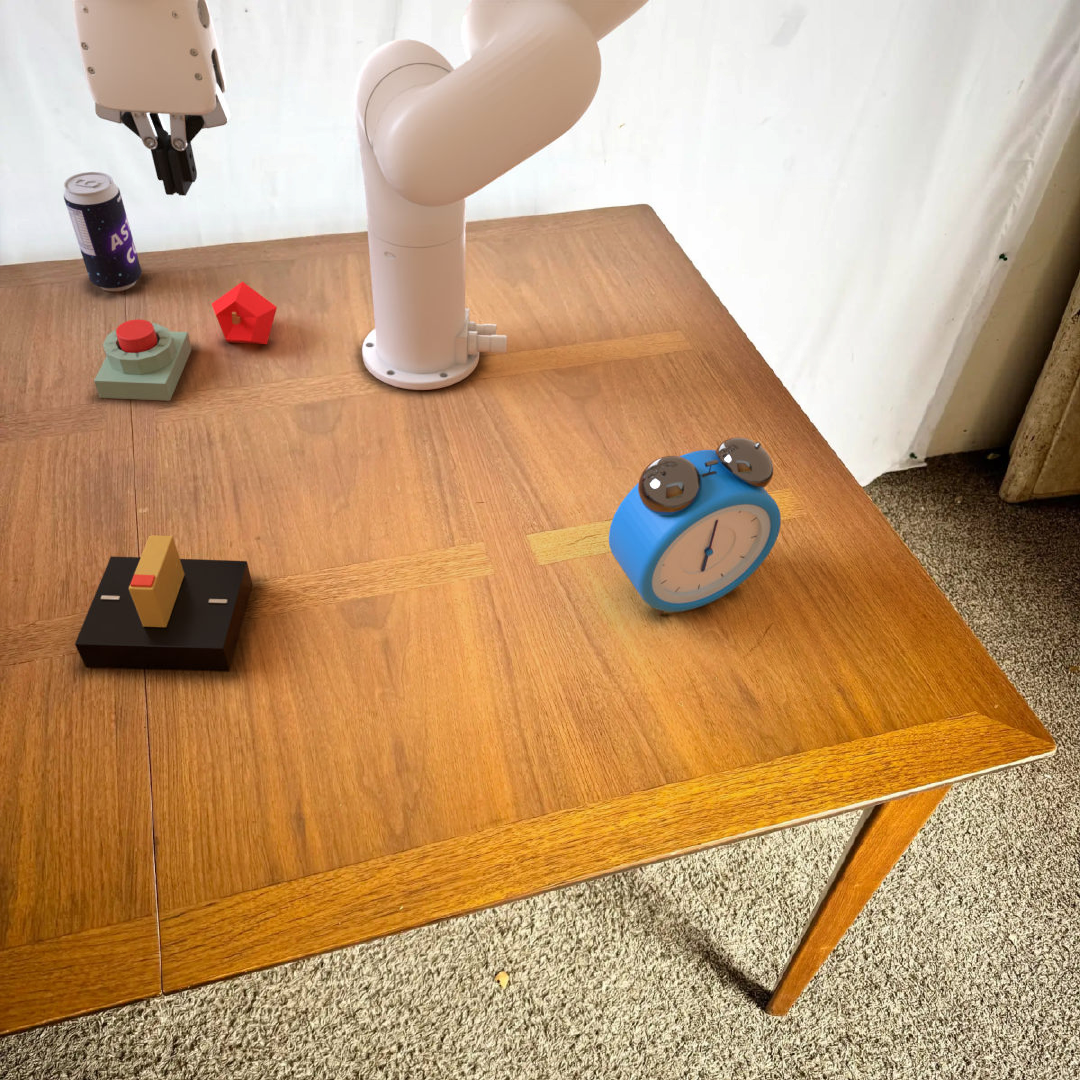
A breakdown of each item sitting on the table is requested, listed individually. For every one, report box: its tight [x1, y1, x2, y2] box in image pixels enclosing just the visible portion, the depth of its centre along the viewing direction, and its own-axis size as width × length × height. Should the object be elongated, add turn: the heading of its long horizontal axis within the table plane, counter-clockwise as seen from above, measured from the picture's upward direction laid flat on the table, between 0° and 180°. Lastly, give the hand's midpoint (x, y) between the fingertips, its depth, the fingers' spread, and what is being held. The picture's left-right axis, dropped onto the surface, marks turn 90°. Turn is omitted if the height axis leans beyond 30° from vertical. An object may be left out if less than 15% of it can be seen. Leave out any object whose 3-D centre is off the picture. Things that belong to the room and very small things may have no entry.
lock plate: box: [74, 556, 254, 672], centre depth 76 cm, size 11×9×3 cm
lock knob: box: [129, 534, 185, 627], centre depth 74 cm, size 6×2×5 cm, turn 0°
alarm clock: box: [608, 436, 782, 616], centre depth 78 cm, size 13×6×15 cm, turn 115°
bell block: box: [93, 322, 193, 402], centre depth 98 cm, size 9×7×4 cm
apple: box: [211, 281, 278, 345], centre depth 103 cm, size 7×7×8 cm
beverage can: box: [63, 171, 143, 292], centre depth 107 cm, size 6×6×12 cm
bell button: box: [115, 318, 157, 353], centre depth 97 cm, size 4×4×2 cm
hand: (180, 187), depth 84 cm, fingers closed
